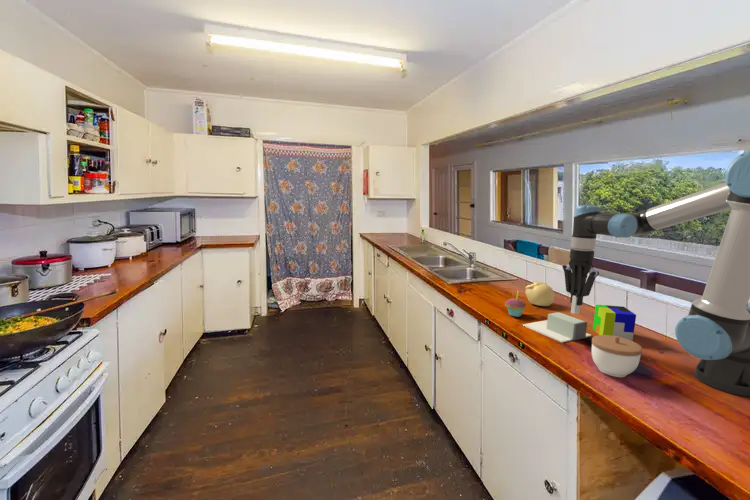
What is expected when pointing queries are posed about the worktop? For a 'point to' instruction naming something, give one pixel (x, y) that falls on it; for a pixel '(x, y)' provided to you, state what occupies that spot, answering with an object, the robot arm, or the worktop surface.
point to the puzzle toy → (614, 321)
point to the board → (548, 331)
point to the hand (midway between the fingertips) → (574, 312)
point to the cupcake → (515, 306)
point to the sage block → (567, 326)
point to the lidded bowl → (615, 355)
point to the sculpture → (540, 294)
